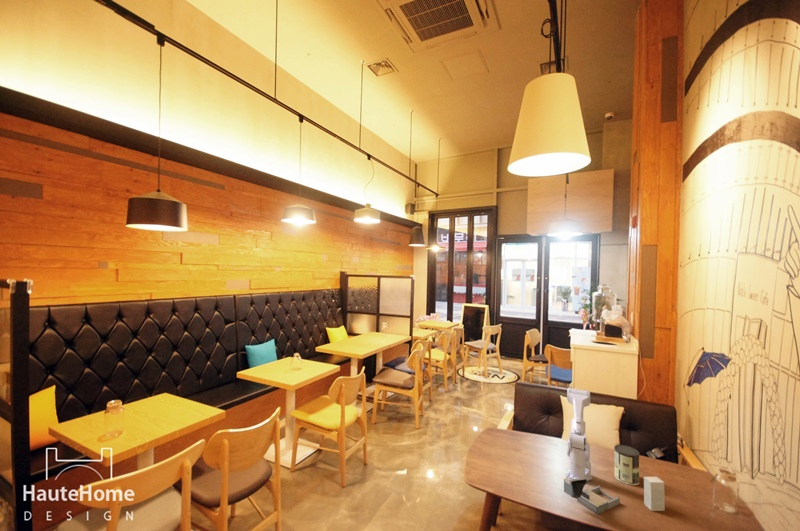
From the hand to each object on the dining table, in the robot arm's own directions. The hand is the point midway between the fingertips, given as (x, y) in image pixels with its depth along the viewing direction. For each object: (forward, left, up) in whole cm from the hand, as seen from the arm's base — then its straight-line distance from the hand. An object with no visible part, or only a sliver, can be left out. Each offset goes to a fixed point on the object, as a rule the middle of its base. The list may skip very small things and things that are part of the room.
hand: (577, 495), depth 141 cm
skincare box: (-31, +14, -6) cm, 34 cm away
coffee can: (-42, -3, -6) cm, 43 cm away
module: (-7, -8, -6) cm, 12 cm away
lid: (-8, +1, -3) cm, 9 cm away
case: (-12, +1, -5) cm, 14 cm away
